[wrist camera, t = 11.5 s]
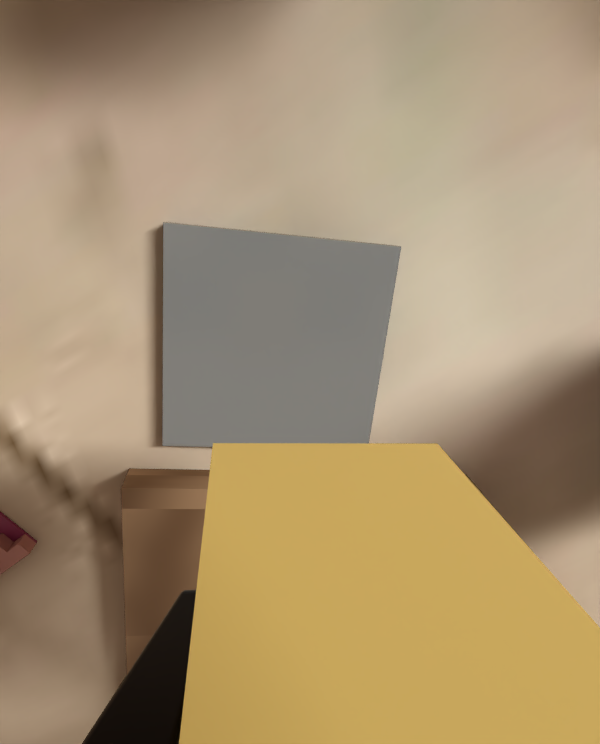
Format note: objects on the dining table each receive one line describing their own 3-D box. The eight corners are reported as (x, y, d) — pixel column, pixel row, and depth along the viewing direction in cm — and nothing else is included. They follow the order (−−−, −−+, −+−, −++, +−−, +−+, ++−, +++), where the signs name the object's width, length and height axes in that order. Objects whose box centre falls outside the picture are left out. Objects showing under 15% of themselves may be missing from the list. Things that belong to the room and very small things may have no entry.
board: (466, 474, 22) (493, 504, 20) (406, 715, 27) (422, 761, 25) (129, 468, 20) (114, 502, 17) (135, 734, 25) (124, 788, 23)
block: (437, 443, 9) (760, 810, 3) (405, 614, 10) (597, 1070, 5) (212, 443, 8) (162, 893, 3) (210, 625, 10) (174, 1166, 4)
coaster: (396, 245, 18) (401, 246, 17) (363, 444, 21) (367, 450, 20) (165, 222, 17) (163, 222, 16) (164, 439, 19) (162, 445, 19)
